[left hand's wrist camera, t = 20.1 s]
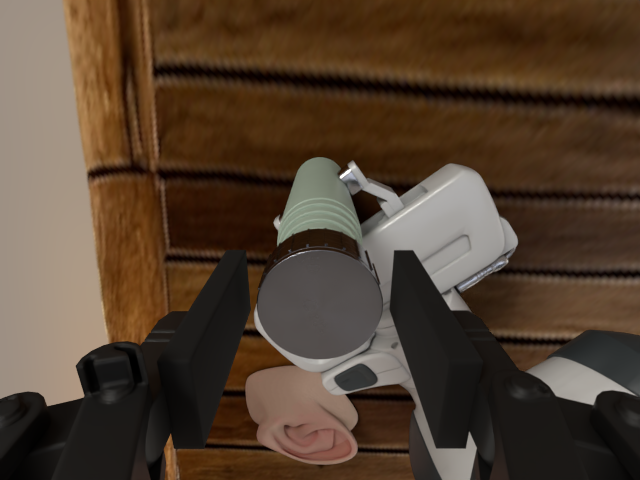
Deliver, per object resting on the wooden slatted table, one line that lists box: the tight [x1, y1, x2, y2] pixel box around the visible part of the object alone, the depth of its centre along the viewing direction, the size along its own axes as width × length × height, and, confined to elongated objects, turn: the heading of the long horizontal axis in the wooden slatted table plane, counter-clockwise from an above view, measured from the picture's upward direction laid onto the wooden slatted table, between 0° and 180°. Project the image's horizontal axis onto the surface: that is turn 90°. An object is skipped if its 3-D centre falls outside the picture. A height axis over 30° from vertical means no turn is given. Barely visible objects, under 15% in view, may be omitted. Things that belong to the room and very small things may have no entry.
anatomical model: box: [245, 366, 358, 465], centre depth 40 cm, size 13×4×12 cm
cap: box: [257, 228, 383, 359], centre depth 14 cm, size 4×5×2 cm
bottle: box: [277, 157, 363, 246], centre depth 23 cm, size 4×4×21 cm
